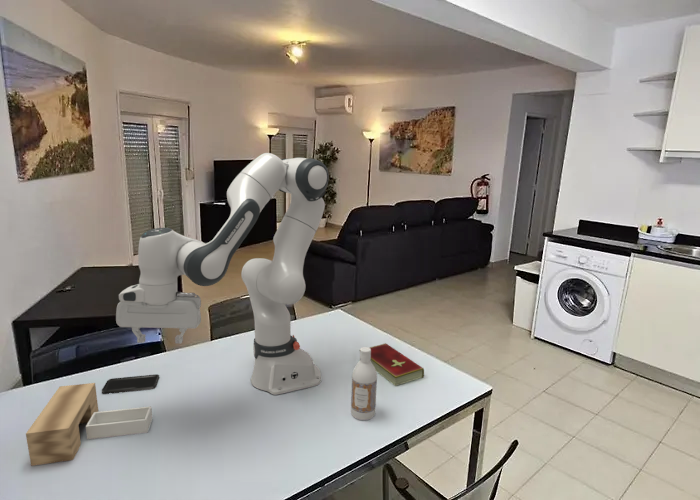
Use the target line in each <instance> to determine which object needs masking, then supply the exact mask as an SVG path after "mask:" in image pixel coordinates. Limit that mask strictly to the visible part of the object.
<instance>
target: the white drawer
mask: <svg viewBox="0 0 700 500" xmlns="http://www.w3.org/2000/svg"><path fill="white" fill-rule="evenodd" d="M152 408H153V407H152V406H143V407H134V408H132V407H131V408H123V409H121V408H120V409H114V410H113V409H112V410H104V411H103V410H102V411H98V412H94V413H93V415H92V417H91V418H90V420H89V422H88V423H86V425H85V431H86V432H85V433H86V439H87V440H94V439H95V440H96V439H103V438H112V437H113V438H114V437H120V436H121V437H122V436H128V435H130V436H131V435H137V434H138V435H139V434H147V433H149V431H150V430H149V429H150V427H151V425H152V421H153V419H152V418H153V409H152Z"/></svg>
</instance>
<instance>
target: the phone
mask: <svg viewBox="0 0 700 500" xmlns="http://www.w3.org/2000/svg"><path fill="white" fill-rule="evenodd" d="M159 380H160V375H159V374H149V375H148V374H147V375H146V374H145V375H136V376H135V375H134V376H125V377H114V378H113V377H112V378H109V379H107V380H106V382H105V384H104V385H103V387H102V389H101V394H102V395H110V394H109V393H112V394H120V393H119V392H122V393H130V392H139V391H150V390H151V391H152V390H155V389H156V388H157V385H158V383H159Z"/></svg>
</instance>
